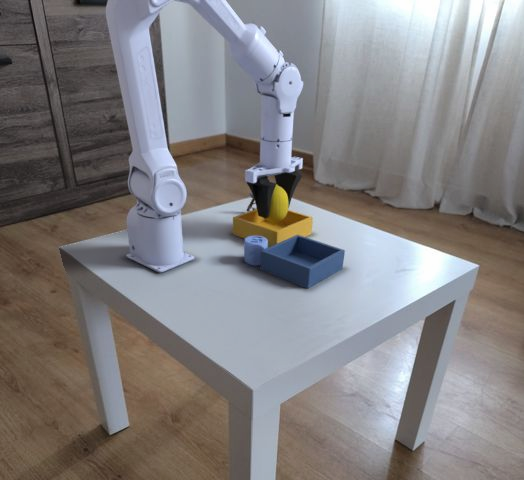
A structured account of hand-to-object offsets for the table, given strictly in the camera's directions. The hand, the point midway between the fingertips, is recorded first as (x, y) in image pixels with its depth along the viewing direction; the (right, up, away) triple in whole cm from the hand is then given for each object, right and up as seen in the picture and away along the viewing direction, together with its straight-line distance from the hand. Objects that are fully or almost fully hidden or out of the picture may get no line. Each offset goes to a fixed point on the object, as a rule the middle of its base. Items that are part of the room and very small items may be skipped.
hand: (273, 213), depth 95 cm
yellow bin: (0, -4, +2) cm, 4 cm away
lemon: (0, -2, +1) cm, 3 cm away
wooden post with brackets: (-2, +2, +11) cm, 12 cm away
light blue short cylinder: (-3, -11, -8) cm, 14 cm away
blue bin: (+5, -13, -11) cm, 17 cm away
